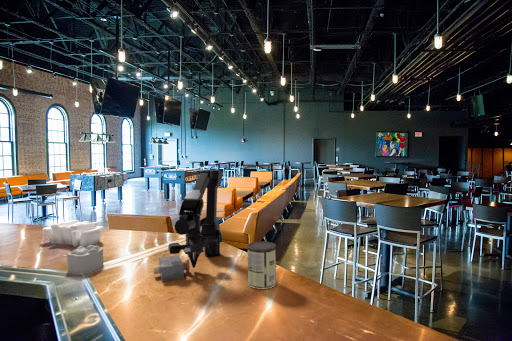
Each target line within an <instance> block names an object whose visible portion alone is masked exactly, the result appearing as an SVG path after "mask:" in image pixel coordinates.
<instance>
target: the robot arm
mask: <svg viewBox="0 0 512 341" xmlns="http://www.w3.org/2000/svg"><path fill="white" fill-rule="evenodd" d="M222 179H223V173H222V171H220V169H201V170H199V175H198V177H197V180H196V182H195V184H194V186H193V189H192V190H191V191H189V193H187V194H186V195H185V196H184V198H183V200H182V202H181V205H180V209H179V212H178V216H179V219H178V220H176V221H175V223H174V231H175V232H176V234H178V235H180V236H181V235H182V236H183V235H185V244H180V243H179V242H171V243H169V244H168V248H167V250H168V252H169V254H170V255H174V254H175V255H177V254H179V253H180V252H181V251H183V253H184V254H185V255H187V256H188V258H189V259H188V260H189V262H190V264H191V267H192V268H193V269H194V268H196V266H197V263H198V259H199V257H200V256H201V254H202V253H204V255H205V256H206V258H211V257H218V256H221V254H222V253H221V252H220V250H221V249H220V248H221V245H220V244H221V243H223V240H224V238H223V237H224V236H223V233H222V231H221V229H220V227H221V226H220V224H219V222H218V220H217V213H218V212H217V209H218V208H217V207H218V188H219V187H220V186H221V185H222ZM205 192H206V206H205V207H206V208H205V211H206V212H205V221H204V223H202V225H201V216H202V211H203V208H204V200H203V198H204V195H205Z"/></svg>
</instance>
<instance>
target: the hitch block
mask: <svg viewBox="0 0 512 341" xmlns="http://www.w3.org/2000/svg"><path fill="white" fill-rule="evenodd" d="M183 262H184V261H182V258H181V256H180V255H172V256H164V257H162V256H161V257H158V265H161V273H159V276H160V280H161V282H168V281H174V280H176V281H177V280H182V279H185V270H184V264H183Z"/></svg>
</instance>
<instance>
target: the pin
mask: <svg viewBox="0 0 512 341" xmlns="http://www.w3.org/2000/svg"><path fill="white" fill-rule="evenodd" d="M182 262H183V264H184V271H185V272H186V273H187V272H190V259H185V261H182ZM160 273H161V265H159V264H158V265H154V266H153V274H154V275H158V274H159V275H160Z"/></svg>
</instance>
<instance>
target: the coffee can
mask: <svg viewBox="0 0 512 341" xmlns="http://www.w3.org/2000/svg"><path fill="white" fill-rule="evenodd" d="M246 247H247V286H248V285H249V286H250V287H249V288H251V287H254V288H259V289H266V290H269V289H268V288H270V289H273V288H274V286H275V285H276V286H277V255H276V254H277V244H276V243H274V242H270V241H265V240H264V241H252V242H250V243H247V245H246ZM276 286H275V287H276ZM272 287H273V288H272Z"/></svg>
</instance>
